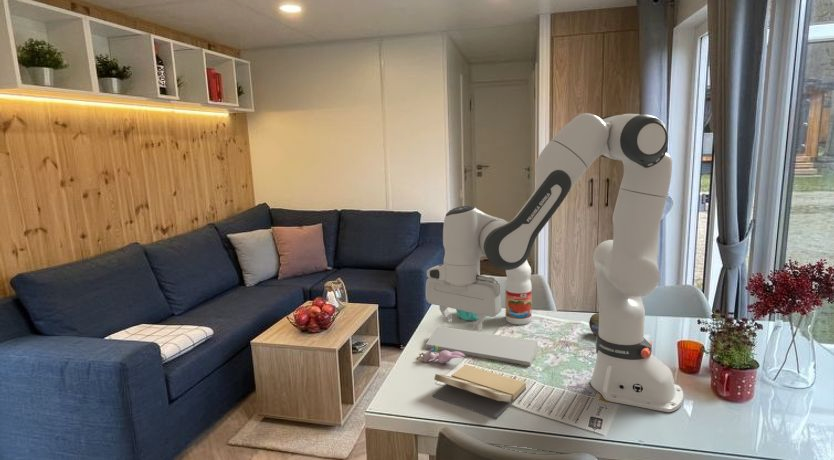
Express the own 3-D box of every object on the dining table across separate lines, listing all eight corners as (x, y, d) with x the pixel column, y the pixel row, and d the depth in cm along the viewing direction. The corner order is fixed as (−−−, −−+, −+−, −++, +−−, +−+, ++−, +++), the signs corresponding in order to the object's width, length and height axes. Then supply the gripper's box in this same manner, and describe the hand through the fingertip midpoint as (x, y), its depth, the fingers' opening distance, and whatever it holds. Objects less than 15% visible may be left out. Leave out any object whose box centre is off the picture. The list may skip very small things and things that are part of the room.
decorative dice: (468, 311, 189) (468, 292, 188) (485, 316, 184) (485, 296, 183) (455, 317, 184) (455, 297, 182) (472, 322, 178) (472, 302, 177)
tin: (588, 334, 164) (589, 310, 163) (593, 331, 166) (594, 308, 165) (631, 347, 153) (632, 322, 151) (636, 344, 155) (637, 319, 153)
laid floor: (526, 389, 130) (526, 381, 130) (496, 419, 117) (496, 411, 117) (465, 371, 142) (465, 364, 141) (432, 396, 128) (432, 389, 128)
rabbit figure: (416, 368, 148) (463, 367, 142) (412, 350, 147) (459, 348, 141) (422, 359, 153) (468, 357, 148) (419, 342, 153) (464, 339, 147)
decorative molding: (530, 374, 144) (538, 353, 152) (529, 362, 142) (537, 340, 150) (427, 355, 159) (439, 337, 167) (425, 344, 157) (437, 325, 165)
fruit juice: (526, 315, 183) (527, 243, 178) (534, 324, 174) (535, 249, 169) (502, 316, 183) (502, 244, 177) (509, 326, 174) (509, 250, 168)
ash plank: (510, 401, 123) (511, 395, 123) (498, 400, 117) (499, 394, 117) (448, 381, 134) (449, 376, 135) (434, 379, 128) (435, 374, 129)
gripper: (506, 275, 114) (506, 330, 117) (435, 264, 126) (436, 314, 129) (493, 282, 109) (493, 339, 112) (421, 269, 121) (422, 321, 124)
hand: (462, 325), depth 120 cm, fingers open, 7 cm apart
